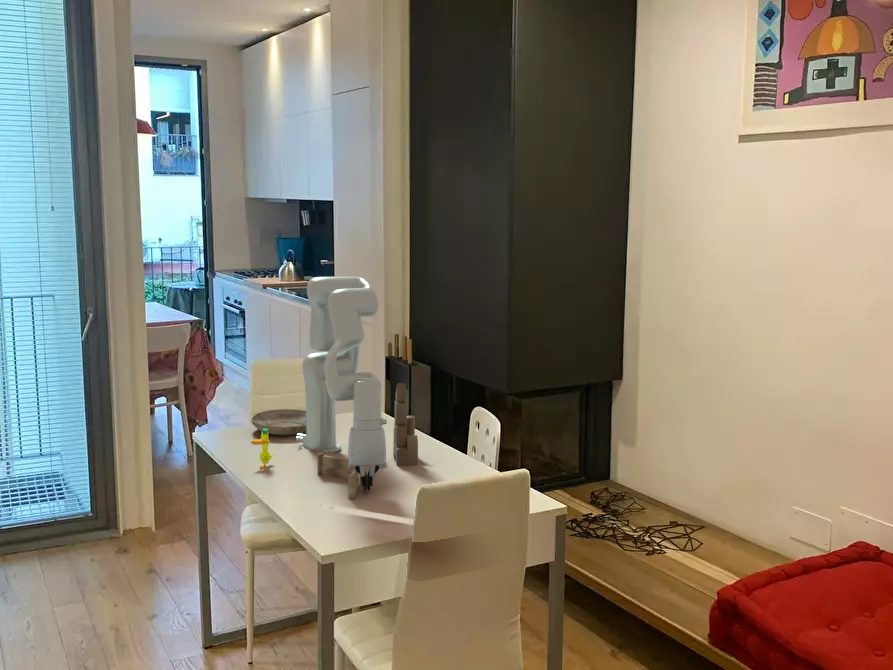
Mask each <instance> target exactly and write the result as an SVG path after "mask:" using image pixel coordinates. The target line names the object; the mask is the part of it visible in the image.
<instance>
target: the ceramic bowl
mask: <svg viewBox="0 0 893 670" xmlns="http://www.w3.org/2000/svg"><path fill="white" fill-rule="evenodd" d="M251 424H252V425H253V426H254V427H255V428H256V429H257V430H259V431H260V432H263V429H268V431H267V432H268V435H275V436H293V435H297V434H298V433H300V434H306V409H305V410H303V409H297V408H296V409H294V408H293V409H292V408H289V409H288V408H284V409H283V408H279V409H269V410H263V411H259V412H258V413H255V414H254V415H252V417H251Z"/></svg>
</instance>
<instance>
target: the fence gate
mask: <svg viewBox="0 0 893 670" xmlns="http://www.w3.org/2000/svg"><path fill="white" fill-rule="evenodd" d="M347 480H348V484H347V486H348V488H347V489H348V493H347V495H348V500H354V499H355V500H356V494H357V491H358V488H359V486H360V483H361V482H360V474H359V473H358V472H357V471H356V470H353V471H352V473H351V474H349V475H348V479H347Z"/></svg>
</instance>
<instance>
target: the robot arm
mask: <svg viewBox="0 0 893 670" xmlns="http://www.w3.org/2000/svg"><path fill="white" fill-rule="evenodd" d="M306 295H307V298H308V302H309V305H310V322H309V335H308V336H309V338H308V340H309V346H310V348H311V350H314V351H315V352H313V353H309V354H308V355H306V356H305V357H304V358H303V360H302V362H301V363H302V364H301V367H302V374H303V380H304V389H305V392H304V393H305V411H306V432H305V433H301V434H300V433H298V434H296V437H295V440H296V441H298V442H302V444H301V446H300V450H304V449H305V450H310V451H311V450H313V451H318V452H326V453H331V454H332V453H333V454H334V453H337V452H339V451H340V450H341V449H342V448H341V444H340V443H339V442H337V440H336V438H337V435H336V432H337V430H336V429H337V428H336V427H337V425H336V424H337V419H336V418H337V417H336V416H337V415H336V414H337V413H336V411H337V410H336V409H337V407H336V404H337V403H336V402H343V401H345V402H346V401H353V403H352V404H353V405H352V407H353V409H352V410H353V411H352V412H353V413H352V415H353V420H352V421H353V422H352V424H353V425H352V427H350V430H349V434H348V450H347V453H348V454H347V456H348V458H347V459H349V461H348V465H347V467H348V469H352V470H356V471H357V472H358V473H359V474H360V475H361V476H362V481H361V487H363V490H364V491H365V492H366V491H371V487H373V483H374V481H373V479H374V478H373V477H374V476H375V474H376V473H377V472H378V471H379V470H383V469H386V468H388V465H387V461H386V460H387V447H386V446H387V445H386V443H387V442H386V433H385V429H384V426H383V425H388V424H387V421H388V420H387V419H386V418H385V419H384V418H383V417H382V382H381V381H380V379H379V378H378V377H377V376H376V374H375V373H373V372H371V371H361V372H358V369H359V359H360V349H361V344H362V343H363V342H364V340H365V337H366V336H365V332H364V326H363V323H362V318H366V317H367V318H369V317H371V318H372V317H375V315H377V313H378V310H379V299H378V295H377V293H376V291H375V290H374V288H373V287H372V285H371V284H370V283H368V281H367V280H366V279H365V278H363V277H362V276H316V277H312V278H311V279H309V281H308V283H307V285H306ZM365 466H369V468H368V469H369V470H368V471H366V470H365Z"/></svg>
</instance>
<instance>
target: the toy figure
mask: <svg viewBox="0 0 893 670" xmlns="http://www.w3.org/2000/svg"><path fill="white" fill-rule="evenodd" d="M267 431H268V429H263V431H260V432H261V435H260V438H259V439H252V440H250V444H252V445H254V446H257V445H260V446H261V449H262V450H261V452H260V454H259V461H260V462H261V463H262V465H259V470H263V469H265V468H267V465H266V464H269V462H270V460H271V459H272V457H273V456H274V453H270V452H269V450H268V449H269V444H271V443H270V440H269V433H268V432H267Z"/></svg>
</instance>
